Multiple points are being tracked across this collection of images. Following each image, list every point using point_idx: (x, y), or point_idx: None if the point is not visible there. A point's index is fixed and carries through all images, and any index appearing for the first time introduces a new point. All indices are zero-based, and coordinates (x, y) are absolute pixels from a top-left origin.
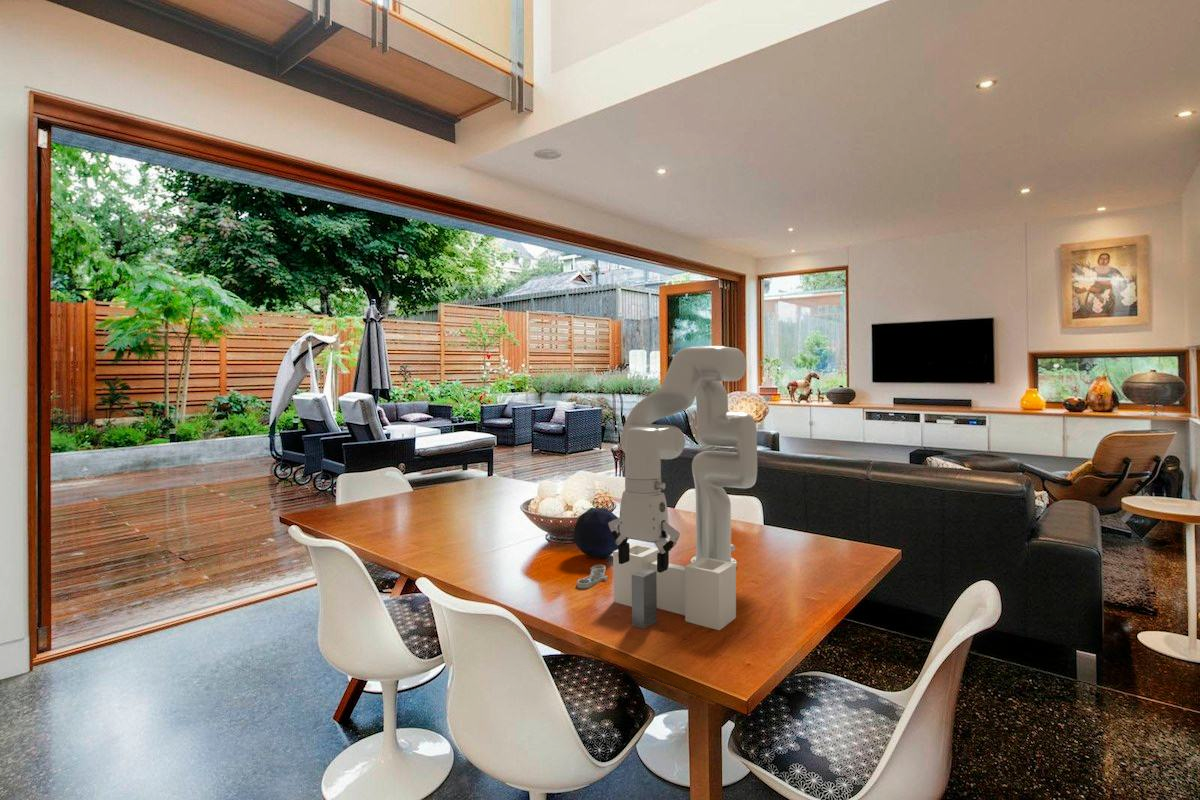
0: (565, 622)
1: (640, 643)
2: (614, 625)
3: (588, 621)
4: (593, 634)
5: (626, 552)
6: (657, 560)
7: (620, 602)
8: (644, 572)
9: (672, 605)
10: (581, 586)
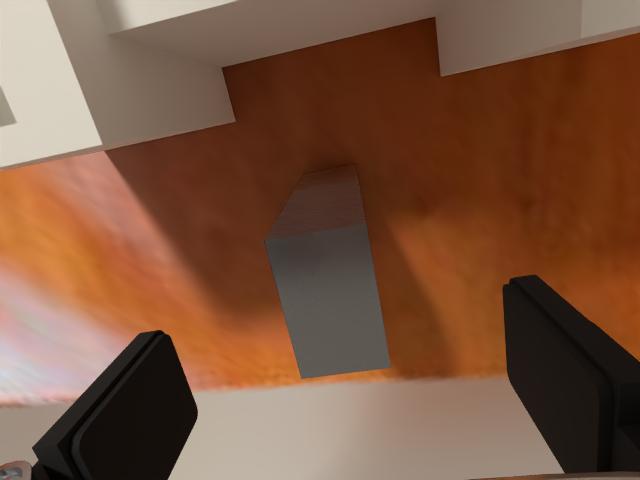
0: None
1: (431, 322)
2: None
3: (201, 324)
4: (287, 369)
5: (143, 422)
6: (558, 453)
7: (131, 144)
8: (332, 305)
9: (337, 33)
10: None
